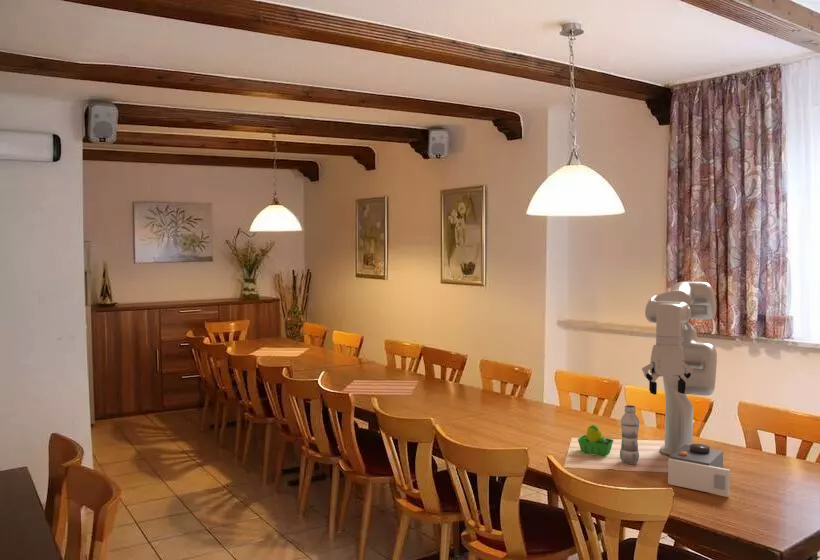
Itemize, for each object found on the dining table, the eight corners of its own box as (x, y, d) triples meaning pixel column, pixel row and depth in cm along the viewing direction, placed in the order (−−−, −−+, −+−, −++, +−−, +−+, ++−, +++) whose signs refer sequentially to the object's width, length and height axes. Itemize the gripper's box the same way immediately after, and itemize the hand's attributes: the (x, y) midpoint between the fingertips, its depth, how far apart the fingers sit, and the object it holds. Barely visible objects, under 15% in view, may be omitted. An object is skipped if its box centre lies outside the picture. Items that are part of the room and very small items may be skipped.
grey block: (684, 470, 235) (685, 439, 235) (722, 478, 228) (723, 446, 227) (669, 483, 223) (670, 451, 222) (708, 492, 215) (709, 458, 215)
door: (669, 482, 222) (669, 458, 222) (729, 495, 211) (730, 469, 211) (667, 484, 221) (667, 459, 220) (727, 497, 210) (728, 471, 209)
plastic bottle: (635, 459, 247) (635, 404, 246) (641, 465, 241) (642, 408, 239) (617, 459, 247) (617, 404, 246) (623, 466, 240) (624, 408, 239)
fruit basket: (614, 453, 255) (614, 422, 255) (606, 459, 248) (606, 428, 247) (584, 448, 262) (584, 418, 261) (575, 454, 254) (575, 423, 254)
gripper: (687, 339, 232) (686, 390, 232) (637, 340, 230) (636, 391, 230) (699, 342, 224) (698, 395, 225) (648, 343, 222) (647, 396, 223)
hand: (667, 393), depth 228 cm, fingers open, 9 cm apart
